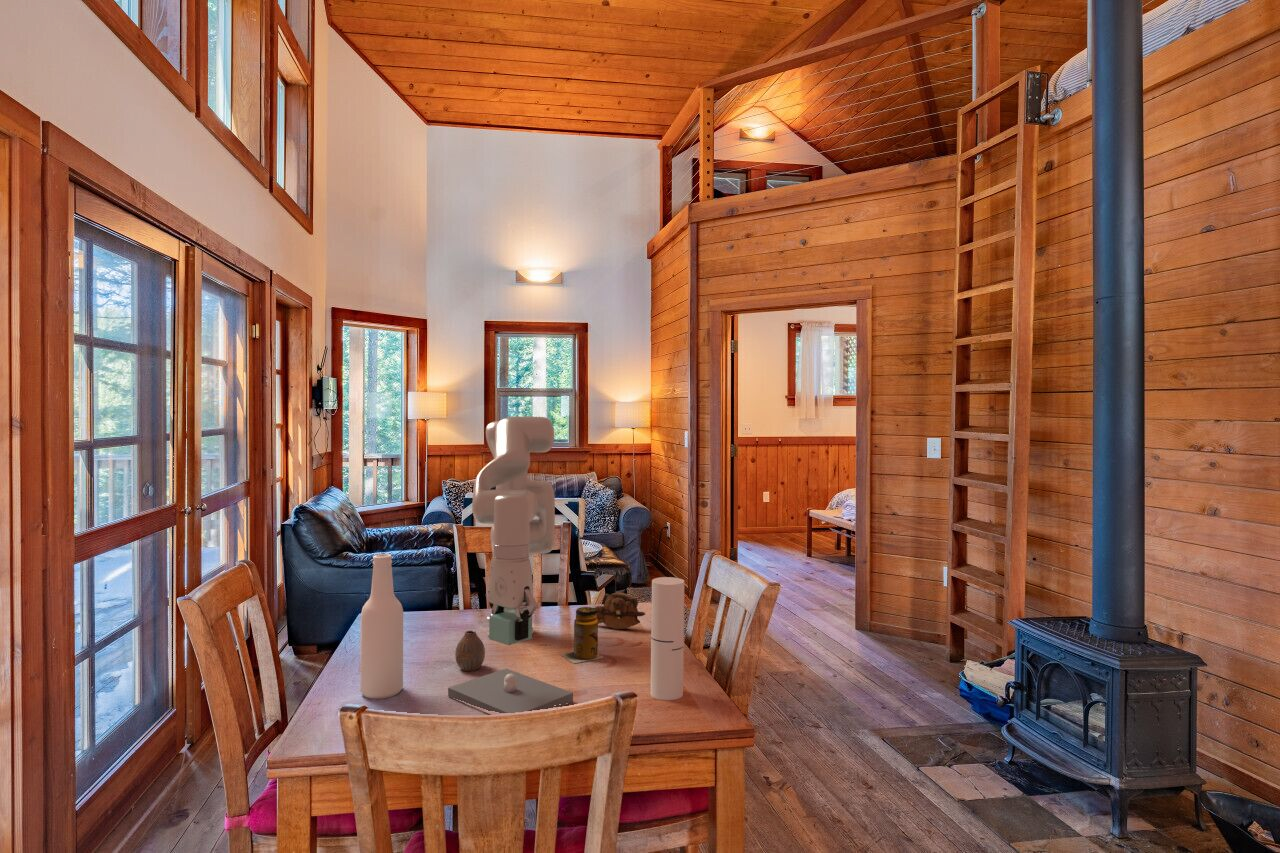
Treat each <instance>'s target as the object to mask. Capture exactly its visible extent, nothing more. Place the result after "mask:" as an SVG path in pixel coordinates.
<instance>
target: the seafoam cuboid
mask: <svg viewBox="0 0 1280 853" xmlns="http://www.w3.org/2000/svg"><path fill="white" fill-rule="evenodd" d="M521 614H522V612H521ZM515 621H517V617H516V613H515V611H514V610H511V611H507V612H503V613H499V614H495V615H491V614H490V615H489V621H488V623H489V624H488V625H489V626H488V627H489V628H488V629H489V636H488V639H489V641H493V642H496V643H500V644H503V645H506V646H512V645H516V644H518V643H522V642H525V641H528V640H532V639H533V634H532V627H533V615H532V616H531V619H530V620H528V638H526V639H522V640H519V641H517V640H515Z"/></svg>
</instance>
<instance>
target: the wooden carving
mask: <svg viewBox="0 0 1280 853" xmlns="http://www.w3.org/2000/svg"><path fill="white" fill-rule="evenodd" d="M601 602H602V605H597V606H594V608H595V609H596V611H597V614H596V615H597V618H596V619H597V620H598V625H599V624H604V625H605V626H606V627H609V628H611V629H617V630H623V629H628V628H632V627H634V626H637V625H638V624H640V623H641V620H640V619H638V617H644V616H645V615H646V612H645V611H639V609H638V605H639V601H638V598H637V597H633V596H631V595H629V594H627V593H624V592H614V593H611V594H609V593H605V594H604V595H603V598H602V601H601Z"/></svg>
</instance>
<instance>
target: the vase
mask: <svg viewBox="0 0 1280 853" xmlns="http://www.w3.org/2000/svg"><path fill="white" fill-rule="evenodd" d="M454 656H455V662H456V664H457V666H458V667H459V668H460V669H461V670H462V671H463V672H464V671H465V672H473V671H476V670H478V669H480V667H481V666H482V665H483V663H484V661H485V656H486V649H485V645H484V642H483V640H482V639H481V638H480V637H479V636H478V634H477V632H476V631H475V630H466V631H465V632H464V635H463V636H462V637H461V639H460V640H459V641H458V643H457V646H456V649H455V654H454Z"/></svg>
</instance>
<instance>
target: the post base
mask: <svg viewBox="0 0 1280 853" xmlns="http://www.w3.org/2000/svg"><path fill="white" fill-rule="evenodd" d="M448 696H449V697H448ZM447 697H448V698H450V697H452V698H455V699H458V700H461V701H464V702H466V703H469V704H471V705H474V706H477V707H480V708H483V709H486V710H488V711H495V712H499V713H515V712H524V711H532V710H540V709H548V708H553V707H559V706H562V707H564V706H567V705H569V704H571V703H572V704H573V703H574V693H573V692H572V691H569V690H567V689H564V688H561V687H558V686H556V685H553V684H550V683H548V682H545V681H541V680H539V679H536V678H534V677H531V676H528V675H525V674H523V673H520V672H517V671H514V670H511V669H509V668H502V669H501V670H497V671H494V672H492V673H488V674H485V675H483V676H479V677H476V678H473V679H470V680H468V681H464V682H462V683H458V684H455V685H452V686H449V687H447ZM452 698H451V699H452ZM566 703H568V704H566ZM559 704H561V705H559ZM554 705H556V706H554Z"/></svg>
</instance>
